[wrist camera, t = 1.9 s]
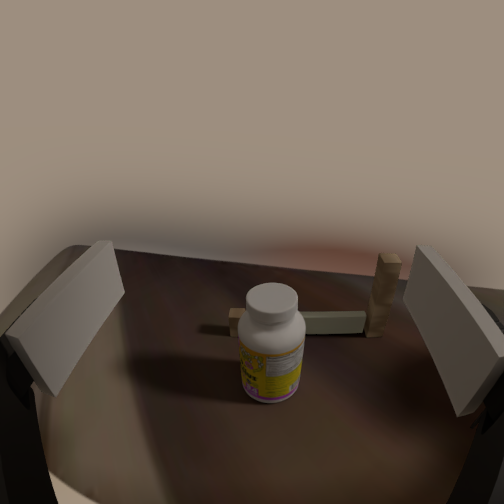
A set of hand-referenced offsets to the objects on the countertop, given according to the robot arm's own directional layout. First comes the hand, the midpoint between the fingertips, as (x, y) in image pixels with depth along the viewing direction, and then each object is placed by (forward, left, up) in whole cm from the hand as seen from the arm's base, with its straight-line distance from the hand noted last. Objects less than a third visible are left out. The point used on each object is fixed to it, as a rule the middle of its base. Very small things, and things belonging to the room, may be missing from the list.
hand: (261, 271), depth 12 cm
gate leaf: (-5, -21, -22) cm, 31 cm away
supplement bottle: (0, -12, -22) cm, 25 cm away
